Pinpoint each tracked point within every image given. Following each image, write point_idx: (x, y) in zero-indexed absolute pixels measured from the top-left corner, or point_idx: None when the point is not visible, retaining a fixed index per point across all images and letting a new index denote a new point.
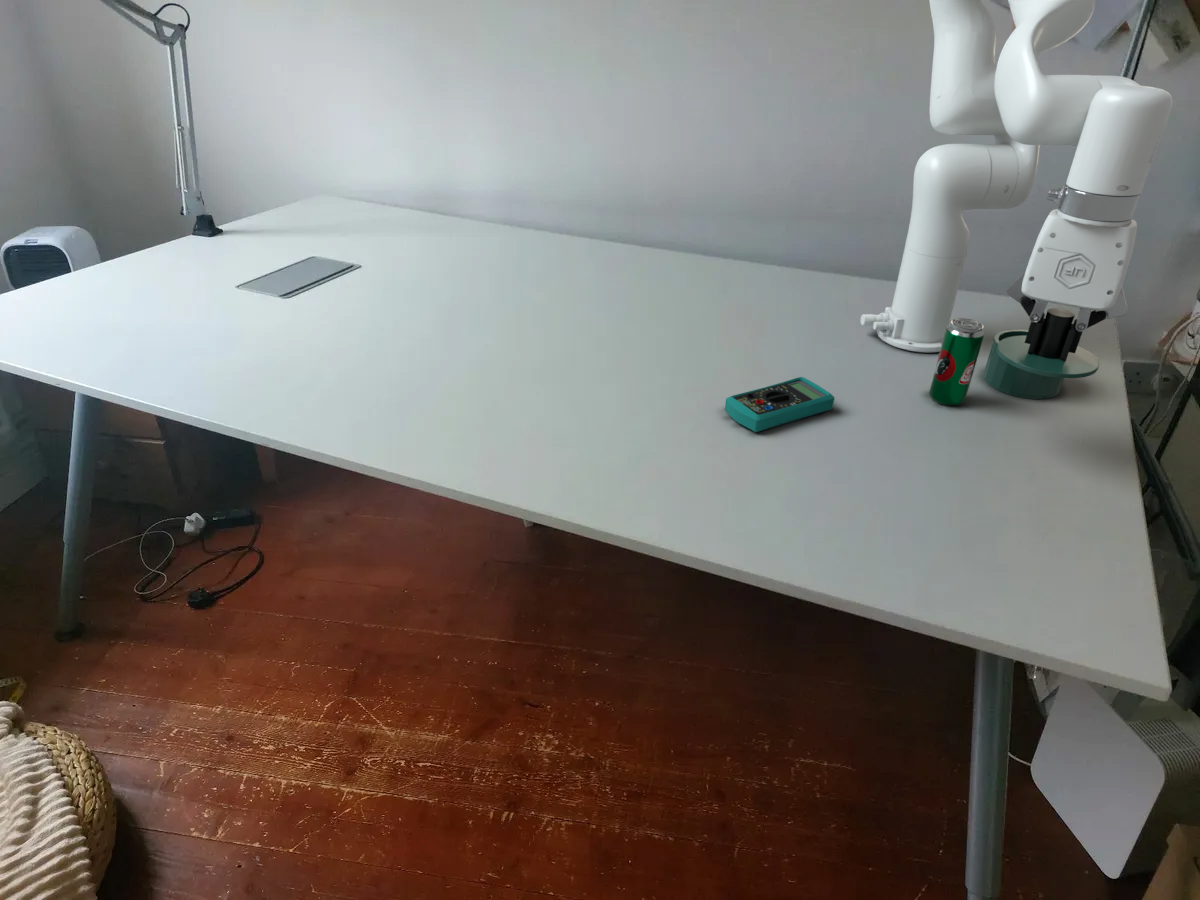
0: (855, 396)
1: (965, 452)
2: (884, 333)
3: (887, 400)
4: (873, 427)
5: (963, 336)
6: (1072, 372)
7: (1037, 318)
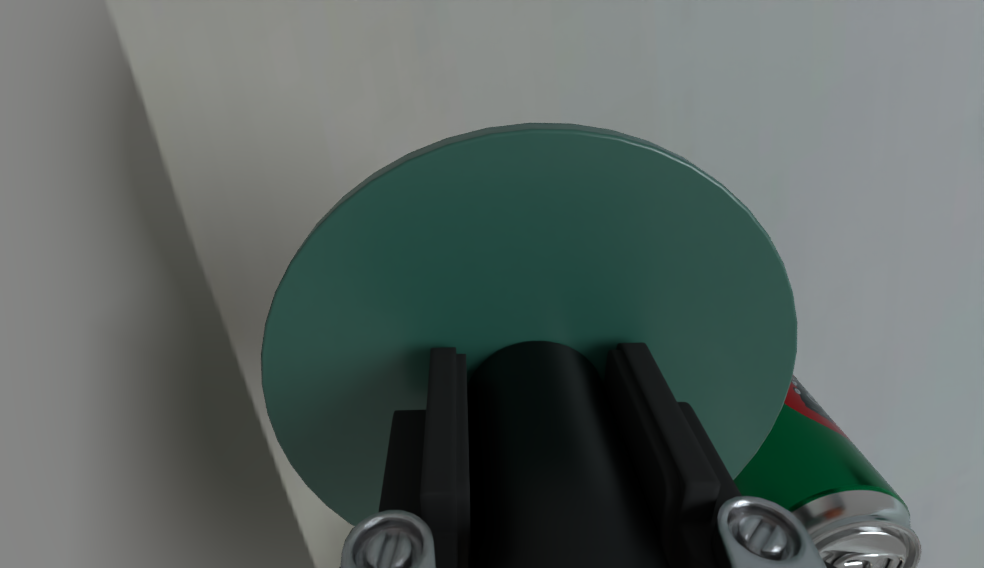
0: (976, 235)
1: (638, 58)
2: None
3: (877, 263)
4: (938, 56)
5: (851, 491)
6: (367, 213)
7: (741, 532)
